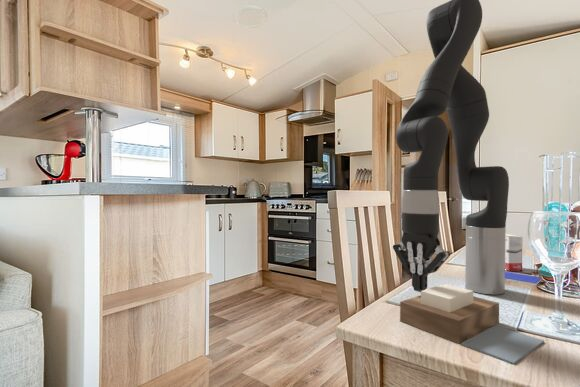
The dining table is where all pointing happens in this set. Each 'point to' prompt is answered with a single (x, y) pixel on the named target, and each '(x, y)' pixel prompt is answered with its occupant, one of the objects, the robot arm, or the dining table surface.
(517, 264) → the ink box
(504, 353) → the mat
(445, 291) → the cream foam brick
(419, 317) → the brown wooden block
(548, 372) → the dining table surface
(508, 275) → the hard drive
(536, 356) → the dining table surface
